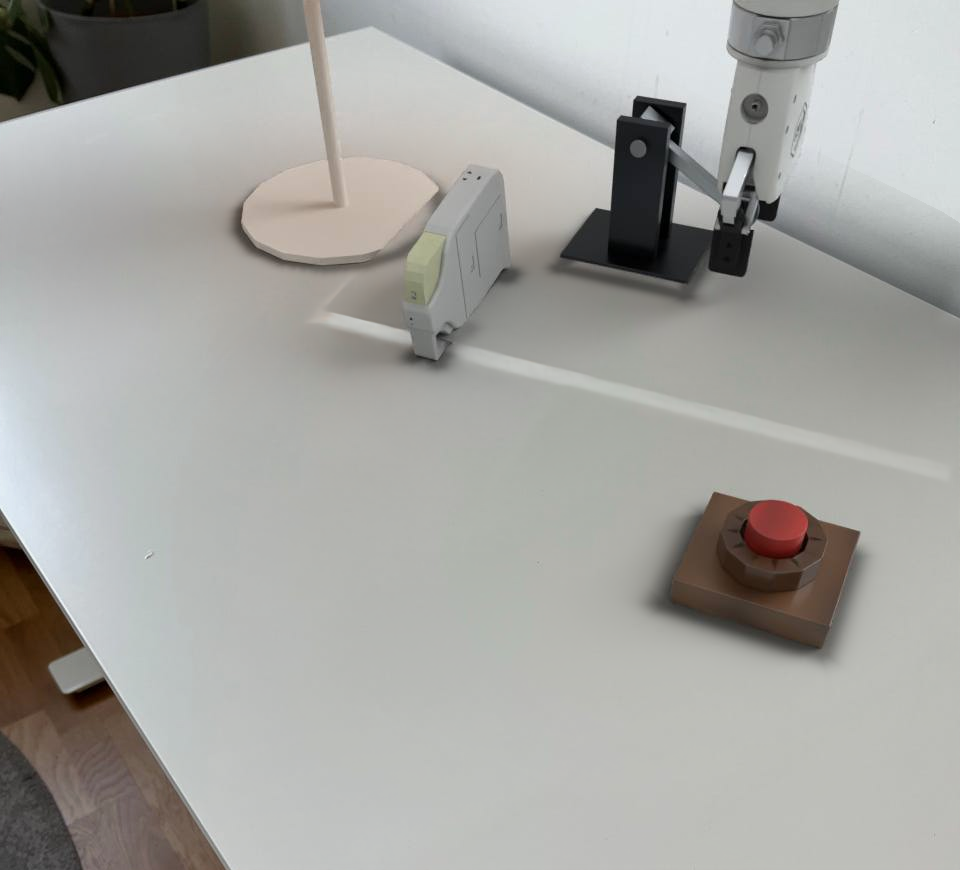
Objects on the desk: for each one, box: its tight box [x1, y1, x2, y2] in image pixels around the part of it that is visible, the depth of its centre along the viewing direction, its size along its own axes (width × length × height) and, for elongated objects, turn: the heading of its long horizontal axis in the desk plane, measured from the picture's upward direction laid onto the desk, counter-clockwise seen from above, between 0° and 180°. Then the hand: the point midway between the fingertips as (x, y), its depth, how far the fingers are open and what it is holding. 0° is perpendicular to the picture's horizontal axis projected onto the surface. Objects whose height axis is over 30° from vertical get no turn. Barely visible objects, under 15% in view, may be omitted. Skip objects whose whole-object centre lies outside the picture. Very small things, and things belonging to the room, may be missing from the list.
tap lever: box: [640, 106, 760, 227], centre depth 83 cm, size 13×3×3 cm, turn 66°
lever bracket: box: [559, 95, 714, 285], centre depth 86 cm, size 12×9×13 cm
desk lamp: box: [240, 0, 440, 266], centre depth 86 cm, size 30×30×31 cm
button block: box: [668, 491, 862, 649], centre depth 64 cm, size 10×9×4 cm
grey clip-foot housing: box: [402, 164, 512, 361], centre depth 82 cm, size 11×3×15 cm
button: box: [744, 499, 808, 559], centre depth 62 cm, size 4×4×2 cm
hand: (742, 244), depth 86 cm, fingers open, 9 cm apart
